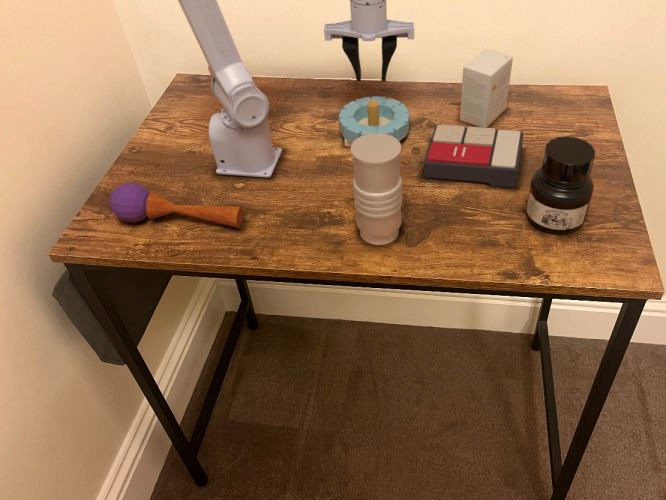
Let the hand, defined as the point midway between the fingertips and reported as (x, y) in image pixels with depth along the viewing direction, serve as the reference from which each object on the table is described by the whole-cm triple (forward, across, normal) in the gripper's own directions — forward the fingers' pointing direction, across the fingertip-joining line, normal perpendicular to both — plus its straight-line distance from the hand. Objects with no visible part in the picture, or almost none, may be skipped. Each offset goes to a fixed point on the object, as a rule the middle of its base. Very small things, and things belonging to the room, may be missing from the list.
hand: (371, 78), depth 106 cm
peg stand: (+9, 0, -3) cm, 9 cm away
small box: (+9, +20, +2) cm, 22 cm away
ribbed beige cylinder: (+9, +2, -29) cm, 31 cm away
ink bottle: (+9, +28, -26) cm, 40 cm away
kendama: (+9, -29, -26) cm, 40 cm away
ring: (+8, 0, -3) cm, 8 cm away
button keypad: (+9, +17, -12) cm, 23 cm away
